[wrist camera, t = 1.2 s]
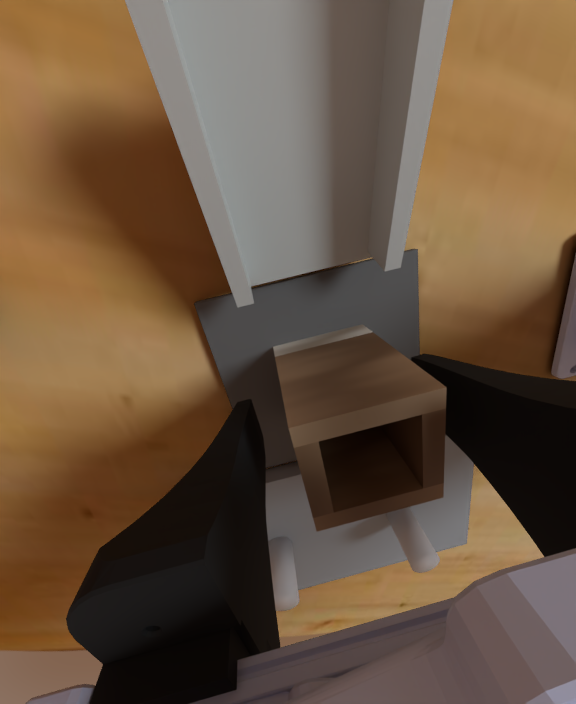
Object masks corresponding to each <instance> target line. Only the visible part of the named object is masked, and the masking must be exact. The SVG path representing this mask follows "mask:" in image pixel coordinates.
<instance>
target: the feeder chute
mask: <svg viewBox="0 0 576 704" xmlns="http://www.w3.org/2000/svg"><path fill="white" fill-rule="evenodd" d="M125 2H126V5H127V7H128V10H129V13H130V15H131V18H132V21H133V24H134V26H135V29H136V32H137V35H138V37H139V40H140V43H141V45H142V48H143V51H144V54H145V56H146V59H147V62H148V65H149V67H150V70H151V73H152V75H153V78H154V81H155V84H156V86H157V89H158V92H159V95H160V97H161V100H162V103H163V105H164V108H165V111H166V114H167V116H168V119H169V122H170V125H171V127H172V130H173V133H174V135H175V138H176V141H177V144H178V146H179V149H180V152H181V155H182V157H183V160H184V163H185V165H186V168H187V171H188V174H189V176H190V179H191V182H192V185H193V187H194V190H195V193H196V195H197V198H198V201H199V204H200V206H201V209H202V212H203V215H204V217H205V220H206V223H207V225H208V228H209V231H210V234H211V236H212V239H213V242H214V245H215V247H216V250H217V253H218V255H219V258H220V261H221V264H222V266H223V269H224V272H225V275H226V277H227V280H228V283H229V285H230V288H231V291H232V294H233V296H234V299H235V302H236V305H237V307H242V306H246V305H250V304H254V300H253V295H252V290H251V286H255V285H259V284H263V283H267V282H271V281H276V280H280V279H284V278H288V277H292V276H296V275H300V274H304V273H308V272H313V271H317V270H321V269H325V268H329V267H333V266H337V265H341V264H345V263H350V262H354V261H358V260H362V259H366V258H370V257H373V258H374V260H375V261H376V262H377V263H378V264H379V266H380V267H381V268H382V269H383V270H384V271H389V270H393V269H397V268H401V263H402V258H403V253H404V248H405V243H406V238H407V233H408V228H409V223H410V218H411V213H412V208H413V202H414V197H415V192H416V187H417V182H418V177H419V172H420V167H421V162H422V157H423V152H424V146H425V141H426V136H427V131H428V126H429V121H430V116H431V111H432V106H433V101H434V96H435V90H436V85H437V80H438V75H439V70H440V65H441V60H442V55H443V50H444V45H445V40H446V35H447V29H448V24H449V19H450V14H451V9H452V4H453V0H125Z"/></svg>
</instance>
